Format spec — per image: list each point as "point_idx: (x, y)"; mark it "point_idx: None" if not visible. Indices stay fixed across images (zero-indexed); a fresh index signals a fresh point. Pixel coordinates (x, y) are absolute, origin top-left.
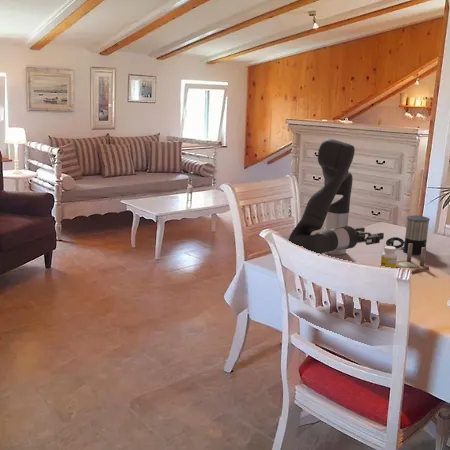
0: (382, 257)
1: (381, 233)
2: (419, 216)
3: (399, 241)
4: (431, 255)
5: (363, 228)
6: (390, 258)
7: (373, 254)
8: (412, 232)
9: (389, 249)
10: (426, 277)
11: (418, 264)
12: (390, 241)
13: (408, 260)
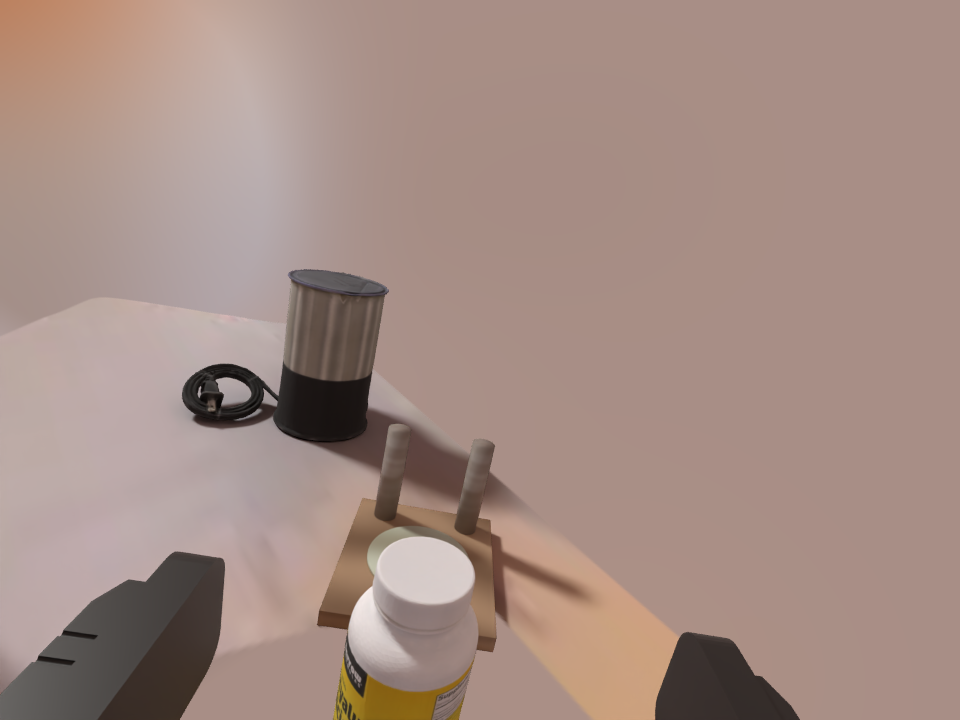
0: (379, 691)
1: (759, 690)
2: (331, 273)
3: (239, 380)
4: (389, 424)
5: (204, 586)
6: (459, 677)
7: (153, 509)
8: (332, 348)
9: (451, 607)
10: (579, 634)
11: (444, 524)
12: (207, 391)
13: (389, 514)
